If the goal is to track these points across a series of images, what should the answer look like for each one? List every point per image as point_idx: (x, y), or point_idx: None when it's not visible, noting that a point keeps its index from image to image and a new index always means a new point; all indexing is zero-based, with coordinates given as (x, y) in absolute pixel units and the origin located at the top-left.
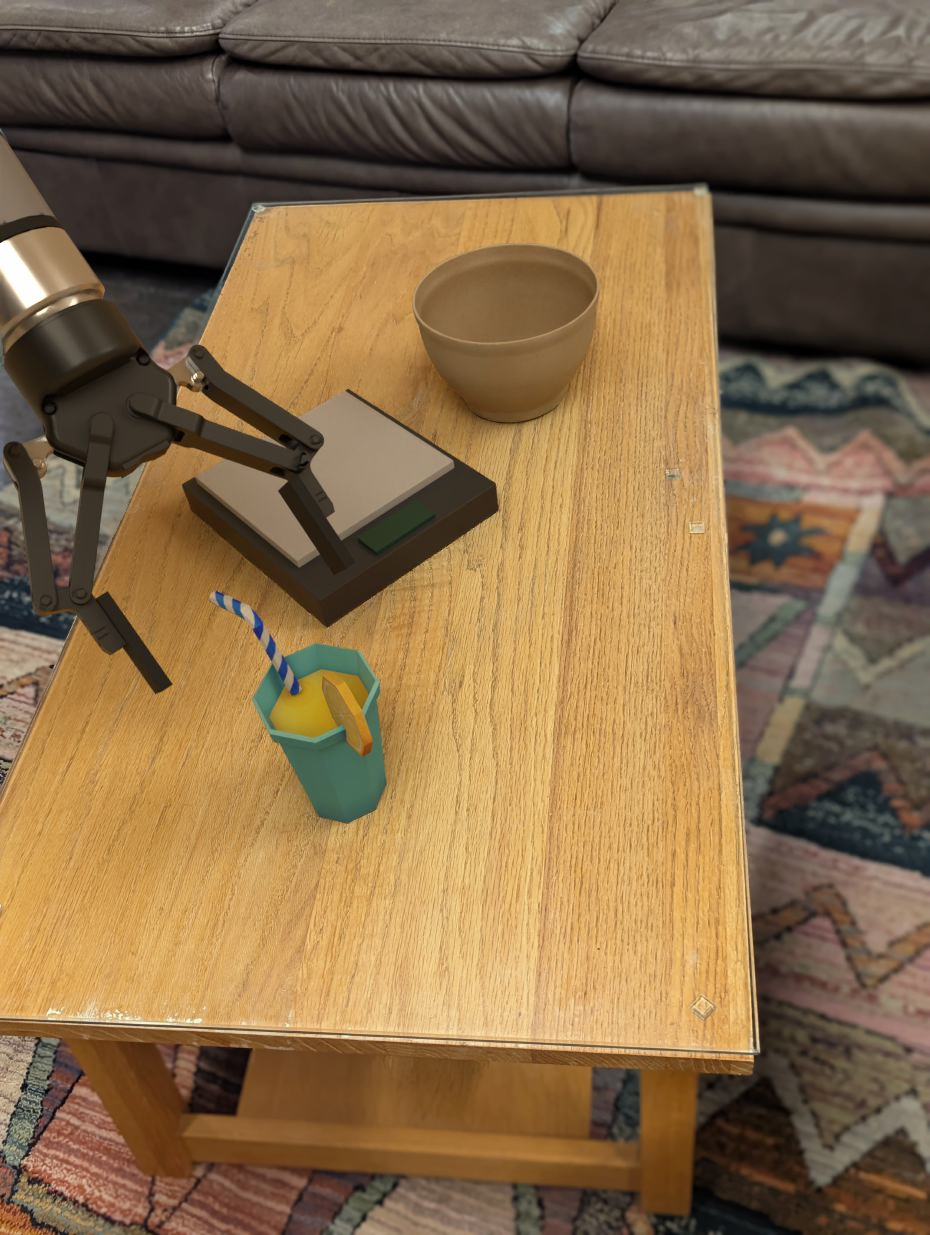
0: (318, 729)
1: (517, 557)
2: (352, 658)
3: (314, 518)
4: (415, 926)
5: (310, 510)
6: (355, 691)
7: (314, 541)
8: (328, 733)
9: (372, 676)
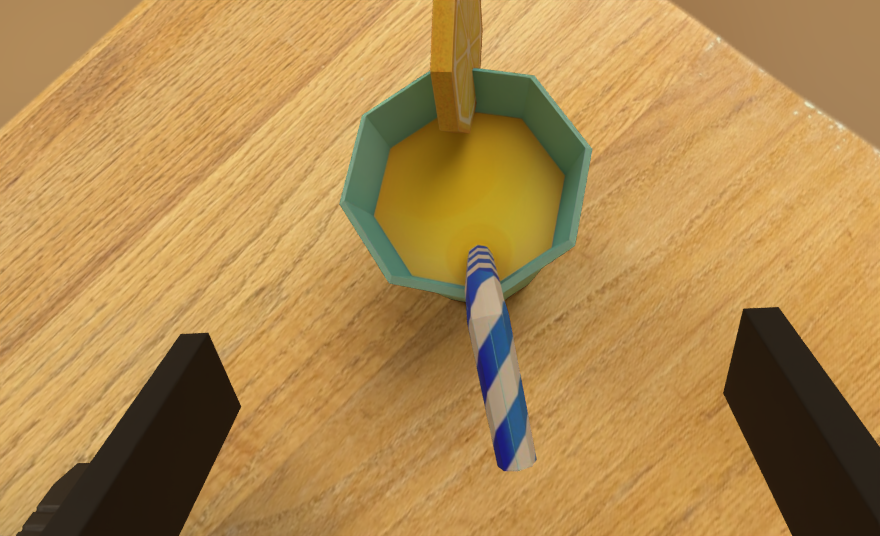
0: (497, 162)
1: (35, 427)
2: (360, 213)
3: (127, 453)
4: (531, 48)
5: (108, 479)
6: (399, 188)
7: (195, 472)
8: (504, 73)
9: (363, 128)
